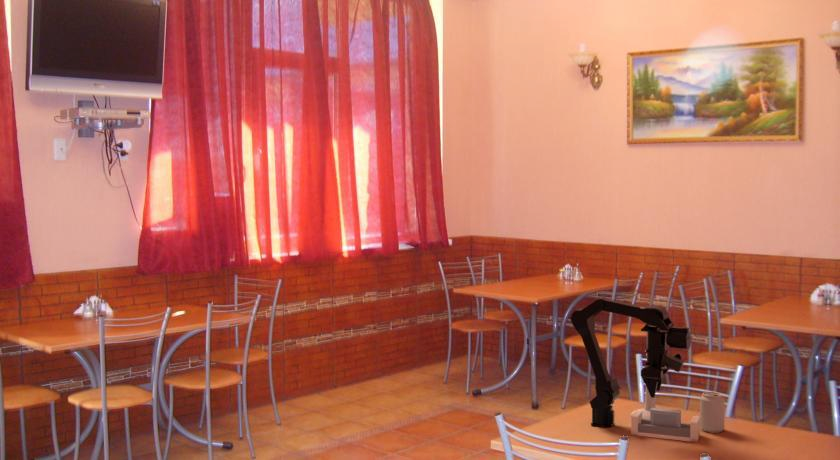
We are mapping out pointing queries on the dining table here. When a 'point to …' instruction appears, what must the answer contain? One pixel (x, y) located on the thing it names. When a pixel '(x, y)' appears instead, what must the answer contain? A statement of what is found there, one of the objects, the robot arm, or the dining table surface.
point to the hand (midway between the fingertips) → (655, 394)
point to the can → (712, 412)
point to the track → (665, 429)
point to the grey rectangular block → (665, 417)
